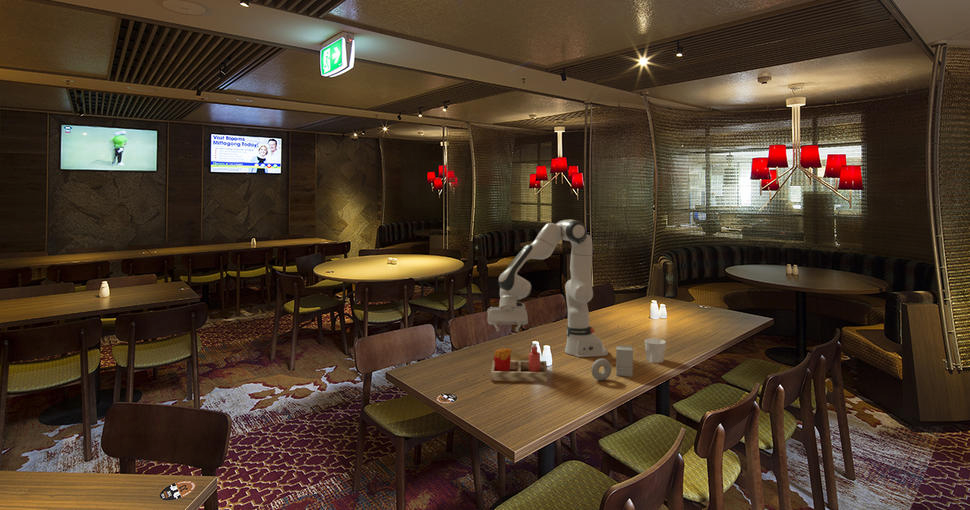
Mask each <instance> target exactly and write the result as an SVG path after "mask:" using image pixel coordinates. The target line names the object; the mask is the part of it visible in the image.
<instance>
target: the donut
mask: <svg viewBox="0 0 970 510" xmlns="http://www.w3.org/2000/svg"><path fill="white" fill-rule="evenodd" d="M601 367H603V370H602V372H600V368H601ZM590 369H591V372H590V373H591V375H592V376H593V378H594V379H595V380H597V381H605V380H607V379H608V378H609V377H610V376H611V373H612V364H611V362H610V361H609V360H608V359H606V358H598V359H596V360H595V361H594V362H593V363H592V366H591V368H590Z"/></svg>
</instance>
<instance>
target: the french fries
mask: <svg viewBox="0 0 970 510" xmlns="http://www.w3.org/2000/svg"><path fill="white" fill-rule="evenodd" d="M511 353H512V350H511V349H510V348H508V347H507V348H504V347H503V348H499V349H496V350H495V351H494V355H493V360H494V364H495V371H510V370H511V369H510V361H511Z"/></svg>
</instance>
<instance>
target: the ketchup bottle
mask: <svg viewBox="0 0 970 510" xmlns="http://www.w3.org/2000/svg"><path fill="white" fill-rule="evenodd" d="M528 361H529V370H528V372H541V370H540V361H541V353H540V352H539V351H538V346H537V343H532V346H531V352H529V353H528Z"/></svg>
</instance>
